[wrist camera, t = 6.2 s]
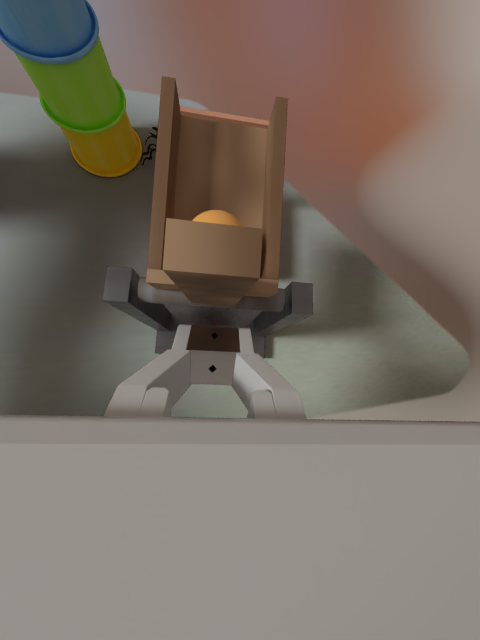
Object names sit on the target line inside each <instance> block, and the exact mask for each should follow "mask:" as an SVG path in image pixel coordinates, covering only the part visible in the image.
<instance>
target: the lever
mask: <svg viewBox="0 0 480 640" xmlns="http://www.w3.org/2000/svg"><path fill="white" fill-rule="evenodd" d="M287 106H288V99H287V98H281V97H276V99H275V102H274V106H273V110H272V114H271V117H270V121H269V125H268V128H267V129H265V128H259V127H253V126H247V125H240V124H234V123H228V122H222V121H216V120H210V119H203V118H197V117H191V116H185V115H181V112H180V105H179V99H178V93H177V87H176V80H175V78H170V77H162V83H161V96H160V108H159V121H158V134H157V147H156V160H155V172H154V185H153V198H152V211H151V224H150V237H149V249H148V262H147V275H146V278H145V277H141V278H140V280H139V283H138V298H139V301H140V302H146V303H160V304H174V305H189V306H203V307H217V308H232V309H246V310H260V311H275V312H281V311H282V310H283V307H284V303H285V292H284V289H280V288H278V279H279V260H280V241H281V222H282V203H283V184H284V164H285V144H286V126H287ZM209 210H222V211H225V212H228V213H230V214H232V215H233V216H235V217H236V218H237V219H238V220H239V221H240V222H241V224H242V225H243V226H234V225H225V224H216V223H207V222H198V221H192V220H193V219H194V218H195V217H196V216H198V215H199V214H201V213H203V212H206V211H209Z"/></svg>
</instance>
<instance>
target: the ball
mask: <svg viewBox="0 0 480 640" xmlns="http://www.w3.org/2000/svg"><path fill="white" fill-rule="evenodd" d="M192 221H198V222H207V223H216V224H225V225H234V226H243V225H242V224H241V222H240V221H239V220H238V219H237V218H236V217H235V216H233V215H232V214H230V213H228V212H225V211H222V210H209V211H206V212H203V213H201V214H199V215H198V216H196V217H195V218H194V219H193V220H192Z"/></svg>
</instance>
